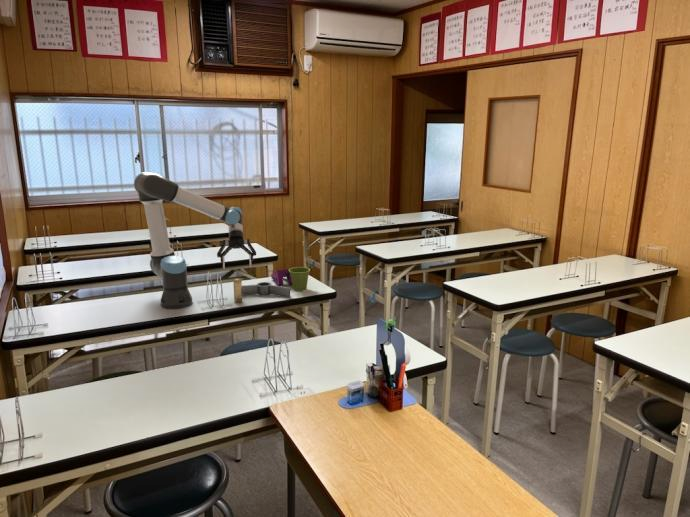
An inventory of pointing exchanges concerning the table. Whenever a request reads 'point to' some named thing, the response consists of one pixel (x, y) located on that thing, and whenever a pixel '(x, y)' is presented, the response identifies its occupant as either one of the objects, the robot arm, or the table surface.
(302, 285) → the plant pot
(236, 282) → the hinge pin
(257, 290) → the steel hinge
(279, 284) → the purple irregular piece
